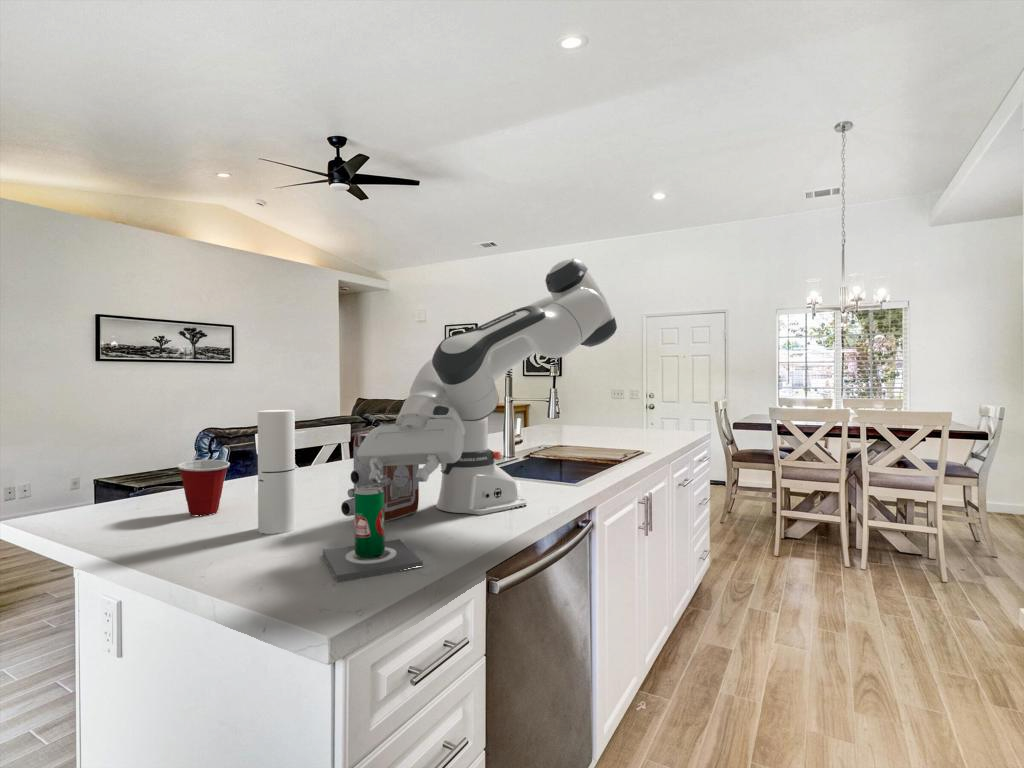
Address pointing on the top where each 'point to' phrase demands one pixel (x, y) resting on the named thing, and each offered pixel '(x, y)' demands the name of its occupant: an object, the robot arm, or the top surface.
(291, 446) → the cylindrical container
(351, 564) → the mount plate
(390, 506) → the cine camera
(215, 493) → the plastic cup
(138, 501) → the top surface
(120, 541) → the top surface
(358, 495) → the soda can
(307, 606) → the top surface
